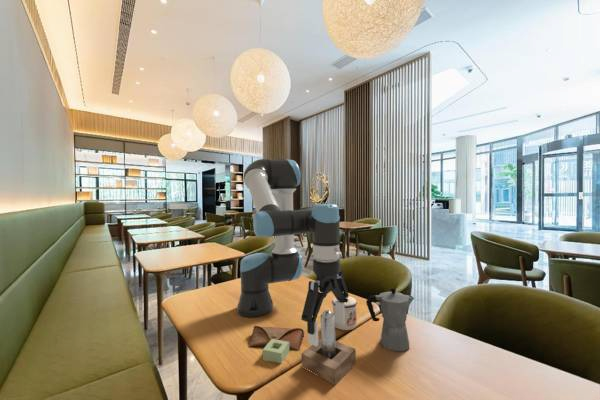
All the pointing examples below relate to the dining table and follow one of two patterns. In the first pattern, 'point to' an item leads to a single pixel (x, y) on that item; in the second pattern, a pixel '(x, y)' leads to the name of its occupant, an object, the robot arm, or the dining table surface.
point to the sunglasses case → (276, 336)
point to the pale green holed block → (276, 351)
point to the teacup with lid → (347, 314)
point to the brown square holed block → (329, 361)
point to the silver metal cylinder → (328, 334)
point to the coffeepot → (392, 318)
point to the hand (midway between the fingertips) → (327, 333)
